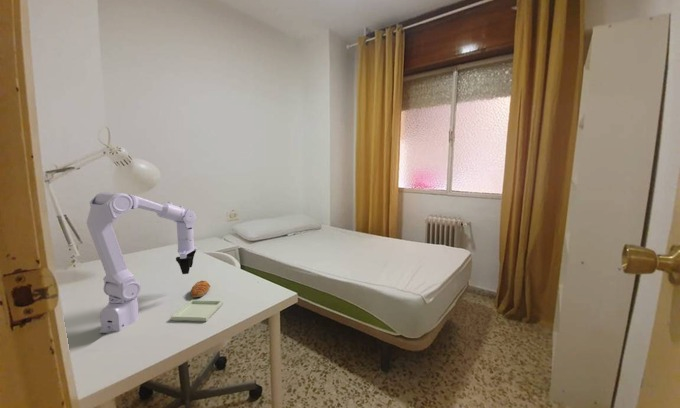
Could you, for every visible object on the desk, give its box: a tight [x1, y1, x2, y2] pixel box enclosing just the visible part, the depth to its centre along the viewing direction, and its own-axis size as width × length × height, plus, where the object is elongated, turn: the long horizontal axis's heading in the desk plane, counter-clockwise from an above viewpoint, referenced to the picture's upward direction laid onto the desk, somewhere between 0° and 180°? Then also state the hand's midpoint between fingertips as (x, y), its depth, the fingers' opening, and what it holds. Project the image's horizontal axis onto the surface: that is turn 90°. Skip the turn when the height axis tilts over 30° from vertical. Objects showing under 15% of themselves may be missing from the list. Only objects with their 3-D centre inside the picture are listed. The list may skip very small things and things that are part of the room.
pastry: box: [190, 280, 211, 298], centre depth 108 cm, size 9×7×4 cm
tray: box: [170, 299, 224, 323], centre depth 94 cm, size 12×12×2 cm
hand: (187, 270), depth 108 cm, fingers open, 7 cm apart
